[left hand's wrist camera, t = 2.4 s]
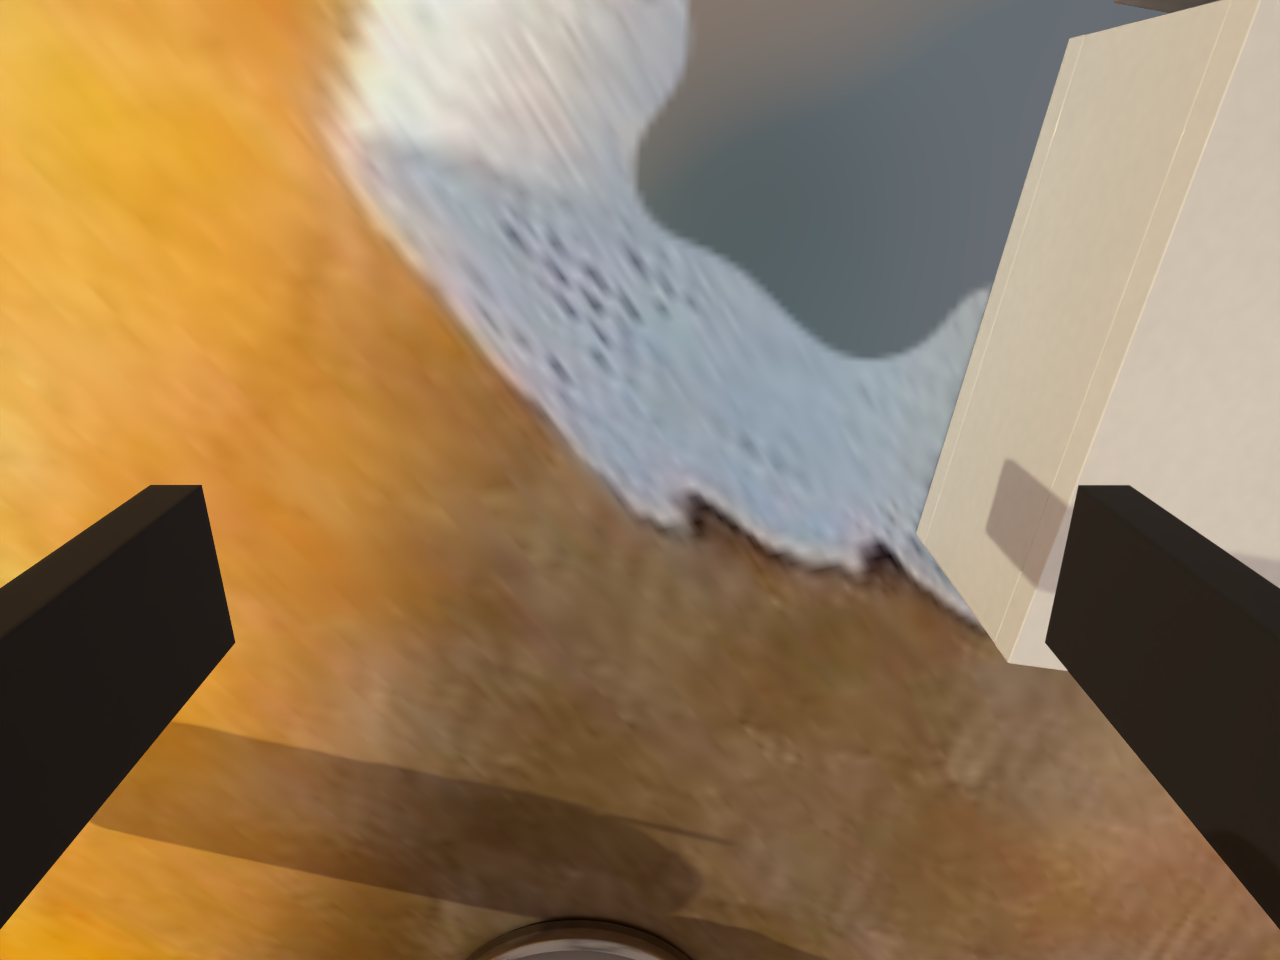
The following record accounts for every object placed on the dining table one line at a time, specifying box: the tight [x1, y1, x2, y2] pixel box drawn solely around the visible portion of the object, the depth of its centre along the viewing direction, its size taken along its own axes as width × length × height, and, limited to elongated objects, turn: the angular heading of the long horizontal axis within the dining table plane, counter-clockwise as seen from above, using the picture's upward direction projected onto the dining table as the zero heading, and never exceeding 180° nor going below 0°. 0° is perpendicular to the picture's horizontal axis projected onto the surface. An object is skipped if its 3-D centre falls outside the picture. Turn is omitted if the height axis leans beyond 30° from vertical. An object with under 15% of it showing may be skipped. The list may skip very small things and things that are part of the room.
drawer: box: [1114, 0, 1220, 13], centre depth 25 cm, size 23×10×7 cm, turn 171°
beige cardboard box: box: [916, 0, 1280, 671], centre depth 27 cm, size 19×11×10 cm, turn 171°
